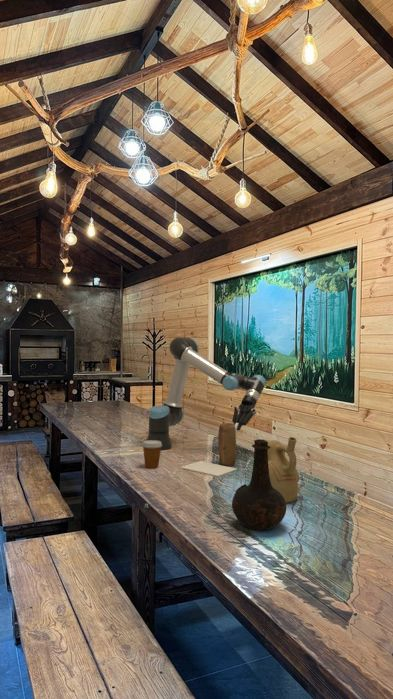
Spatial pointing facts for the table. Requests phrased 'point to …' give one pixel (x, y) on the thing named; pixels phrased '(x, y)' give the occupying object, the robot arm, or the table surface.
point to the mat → (209, 468)
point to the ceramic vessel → (283, 469)
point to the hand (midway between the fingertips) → (233, 434)
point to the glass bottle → (259, 495)
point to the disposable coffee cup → (152, 453)
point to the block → (227, 444)
